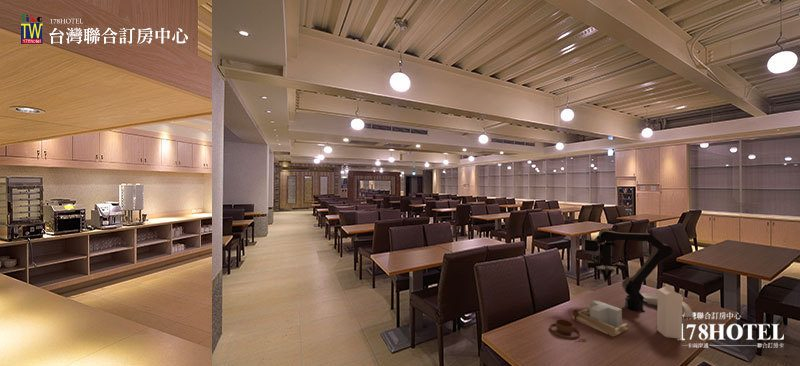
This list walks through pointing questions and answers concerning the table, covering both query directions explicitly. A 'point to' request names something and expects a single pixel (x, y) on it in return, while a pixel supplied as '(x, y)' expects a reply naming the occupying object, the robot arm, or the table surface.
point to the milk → (669, 312)
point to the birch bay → (599, 324)
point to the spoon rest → (654, 300)
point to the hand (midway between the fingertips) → (605, 280)
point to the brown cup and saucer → (566, 327)
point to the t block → (606, 313)
